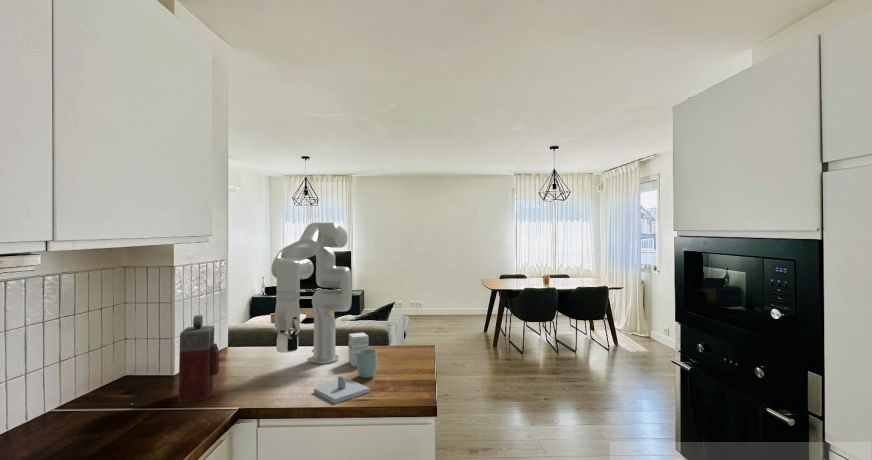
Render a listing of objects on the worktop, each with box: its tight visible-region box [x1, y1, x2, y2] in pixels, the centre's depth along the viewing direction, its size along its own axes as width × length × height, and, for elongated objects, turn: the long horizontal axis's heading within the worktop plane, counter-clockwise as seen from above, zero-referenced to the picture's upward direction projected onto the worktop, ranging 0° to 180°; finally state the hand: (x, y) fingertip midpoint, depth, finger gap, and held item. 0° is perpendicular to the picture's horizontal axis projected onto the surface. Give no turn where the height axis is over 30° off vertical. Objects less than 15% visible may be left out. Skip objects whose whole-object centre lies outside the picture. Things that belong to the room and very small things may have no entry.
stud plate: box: [313, 375, 370, 404], centre depth 141 cm, size 14×14×6 cm
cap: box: [276, 331, 299, 354], centre depth 135 cm, size 6×6×6 cm
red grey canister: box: [177, 314, 220, 404], centre depth 138 cm, size 9×11×28 cm
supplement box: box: [348, 332, 370, 367], centre depth 175 cm, size 7×7×13 cm
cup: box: [356, 348, 378, 379], centre depth 157 cm, size 8×8×10 cm
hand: (287, 347), depth 135 cm, fingers closed on cap, 6 cm apart
